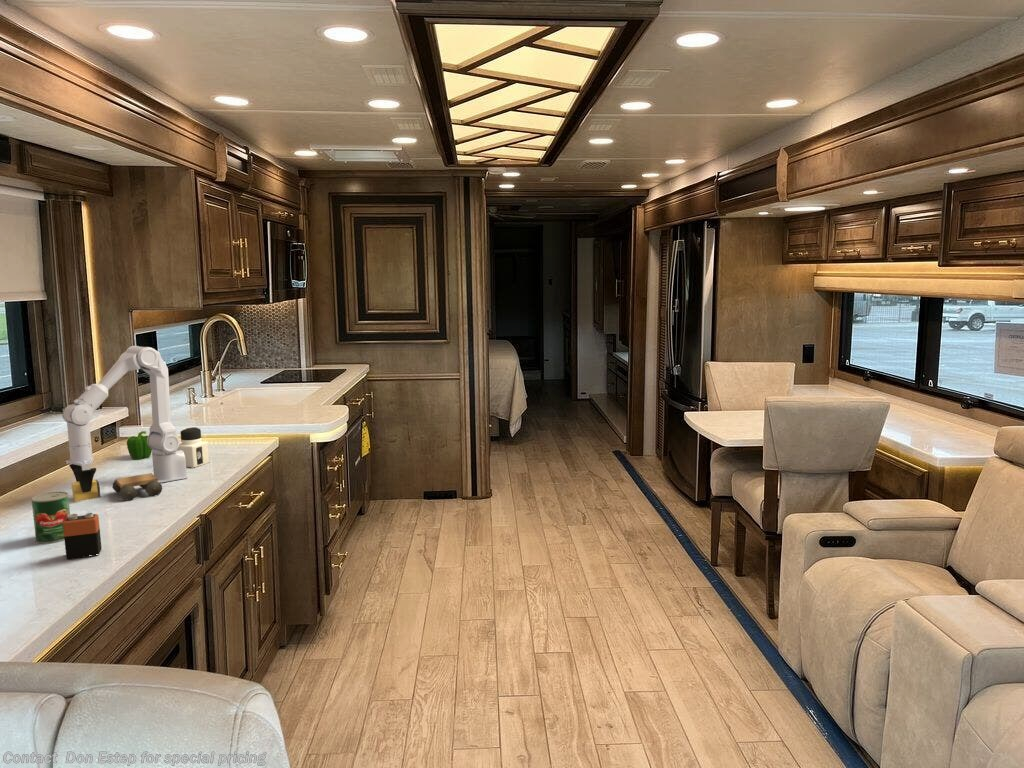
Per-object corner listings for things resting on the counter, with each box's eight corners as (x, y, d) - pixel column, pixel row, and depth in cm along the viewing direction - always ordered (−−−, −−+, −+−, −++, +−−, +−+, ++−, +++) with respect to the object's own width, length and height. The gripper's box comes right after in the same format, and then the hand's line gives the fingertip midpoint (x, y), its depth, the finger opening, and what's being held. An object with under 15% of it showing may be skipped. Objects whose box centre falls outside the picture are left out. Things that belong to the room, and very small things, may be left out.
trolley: (153, 486, 230) (152, 471, 229) (162, 494, 221) (161, 479, 220) (113, 493, 223) (111, 478, 222) (120, 502, 214) (119, 486, 213)
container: (209, 462, 259) (207, 426, 257) (193, 468, 251) (191, 431, 249) (192, 461, 261) (189, 425, 259) (176, 466, 254) (173, 430, 252)
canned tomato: (45, 545, 180) (40, 502, 178) (29, 540, 184) (24, 497, 182) (78, 536, 186) (74, 494, 185) (62, 530, 190) (58, 489, 189)
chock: (98, 494, 222) (96, 478, 222) (100, 497, 219) (98, 481, 219) (73, 498, 218) (71, 482, 218) (75, 501, 215) (73, 485, 215)
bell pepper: (122, 460, 264) (120, 433, 263) (140, 454, 272) (137, 428, 270) (141, 461, 262) (138, 434, 260) (158, 456, 269) (156, 429, 268)
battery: (69, 553, 174) (65, 513, 173) (102, 549, 177) (98, 509, 175) (66, 560, 170) (61, 518, 169) (99, 555, 173) (95, 515, 171)
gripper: (61, 442, 219) (65, 486, 221) (68, 451, 208) (72, 497, 210) (87, 439, 224) (91, 482, 226) (96, 447, 212) (100, 492, 214)
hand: (84, 489), depth 218 cm, fingers open, 7 cm apart
